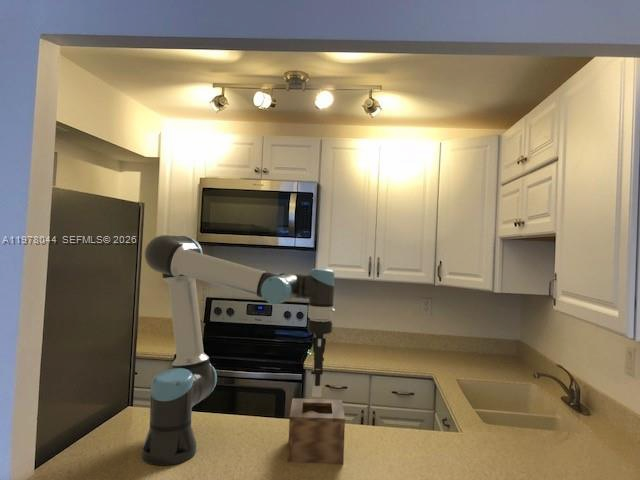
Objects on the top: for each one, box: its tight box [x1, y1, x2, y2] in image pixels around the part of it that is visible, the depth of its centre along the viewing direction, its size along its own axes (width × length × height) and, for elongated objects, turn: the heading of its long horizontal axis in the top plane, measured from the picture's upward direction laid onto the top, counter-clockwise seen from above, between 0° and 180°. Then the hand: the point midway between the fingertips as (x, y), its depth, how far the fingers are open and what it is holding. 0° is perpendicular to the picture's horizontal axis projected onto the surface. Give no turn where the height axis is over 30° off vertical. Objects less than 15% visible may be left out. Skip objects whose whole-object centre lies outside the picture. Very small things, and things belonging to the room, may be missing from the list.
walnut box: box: [287, 397, 346, 465], centre depth 139 cm, size 16×16×13 cm
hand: (316, 388), depth 139 cm, fingers open, 13 cm apart
